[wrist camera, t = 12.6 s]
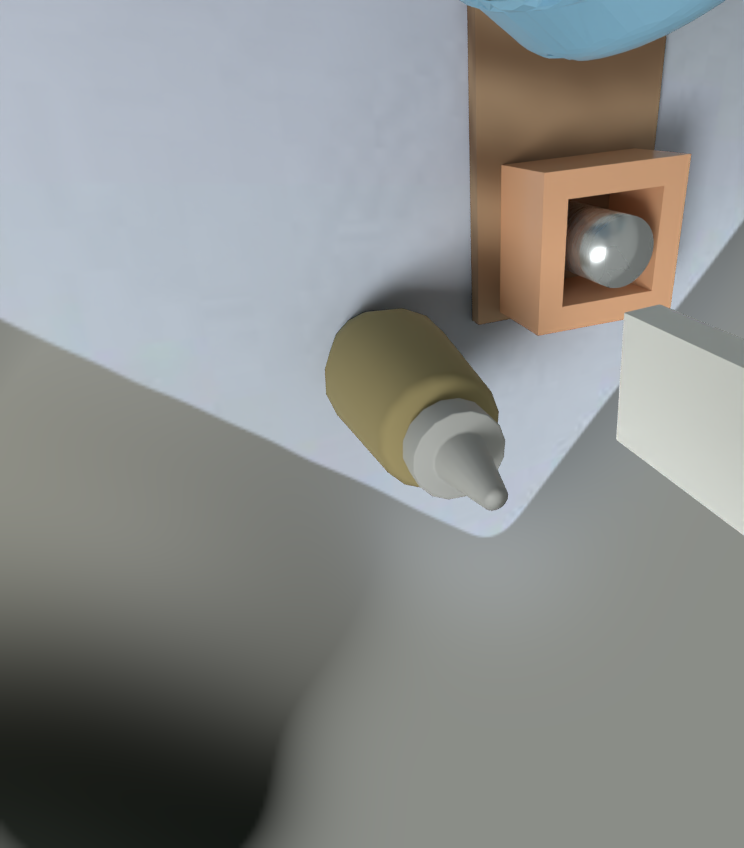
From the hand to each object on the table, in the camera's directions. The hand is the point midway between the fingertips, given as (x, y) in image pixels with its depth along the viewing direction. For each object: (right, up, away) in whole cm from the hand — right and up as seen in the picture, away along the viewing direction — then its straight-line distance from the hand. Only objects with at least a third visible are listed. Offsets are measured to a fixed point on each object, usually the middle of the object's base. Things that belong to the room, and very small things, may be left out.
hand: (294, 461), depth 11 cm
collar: (+14, +13, +30) cm, 35 cm away
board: (+13, +17, +29) cm, 36 cm away
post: (+13, +13, +31) cm, 36 cm away
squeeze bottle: (+1, +5, +31) cm, 32 cm away
